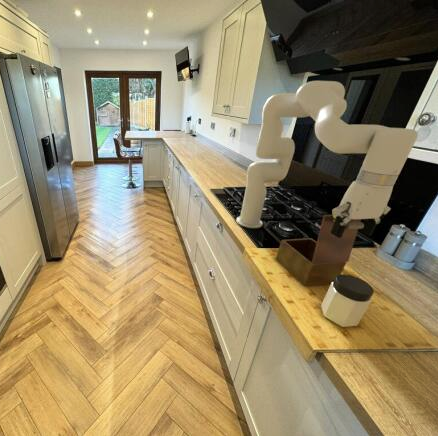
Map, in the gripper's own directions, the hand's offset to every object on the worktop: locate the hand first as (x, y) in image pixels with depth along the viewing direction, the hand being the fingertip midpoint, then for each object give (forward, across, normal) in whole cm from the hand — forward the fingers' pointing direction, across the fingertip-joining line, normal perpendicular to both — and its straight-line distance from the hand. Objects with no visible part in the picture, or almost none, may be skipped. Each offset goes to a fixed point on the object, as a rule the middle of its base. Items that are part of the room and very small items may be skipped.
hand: (350, 234), depth 69 cm
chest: (+21, 0, -10) cm, 23 cm away
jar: (+21, +5, +10) cm, 24 cm away
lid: (+4, 0, -4) cm, 5 cm away
